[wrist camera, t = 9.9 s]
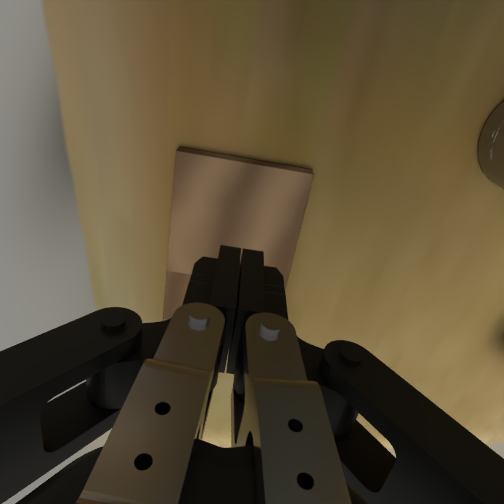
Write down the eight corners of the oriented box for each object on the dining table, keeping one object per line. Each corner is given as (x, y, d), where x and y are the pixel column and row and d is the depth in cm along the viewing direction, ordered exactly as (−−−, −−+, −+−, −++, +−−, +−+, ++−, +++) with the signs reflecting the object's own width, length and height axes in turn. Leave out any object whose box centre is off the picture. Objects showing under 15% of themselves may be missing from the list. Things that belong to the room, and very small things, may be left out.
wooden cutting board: (311, 169, 35) (313, 174, 34) (270, 339, 44) (270, 348, 43) (179, 146, 34) (175, 150, 33) (164, 324, 44) (161, 333, 42)
